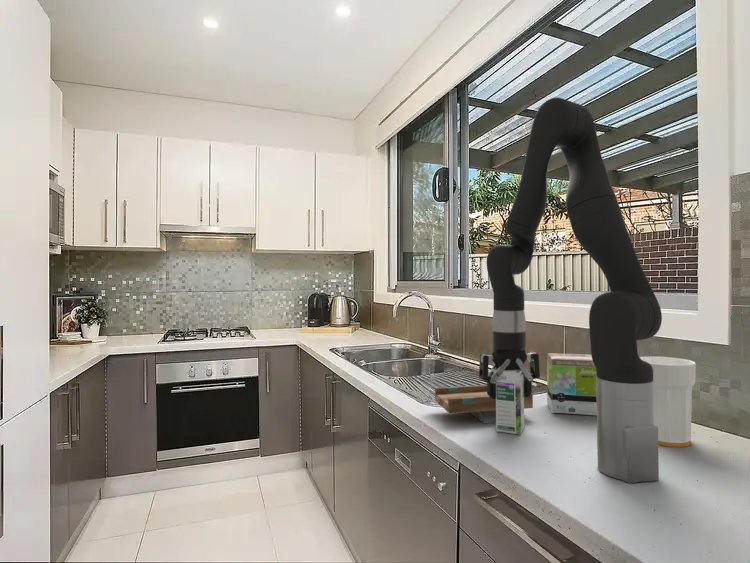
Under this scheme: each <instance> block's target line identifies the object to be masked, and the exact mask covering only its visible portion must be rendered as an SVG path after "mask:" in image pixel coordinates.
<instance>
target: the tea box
mask: <svg viewBox="0 0 750 563" xmlns="http://www.w3.org/2000/svg"><path fill="white" fill-rule="evenodd" d="M546 359H547V360H546V364H547V365H546V370H547V373H546V379H547V380H546V383H547V384H546V390H547V391H546V394H547V395H546V404H547V406H548V407H549V409H550V411H551V413H552V414H571V415H582V416H584V415H585V416H596V417H597V396H596V392H597V390H596V367H595V365H594V363H593V360H592V356H591V354H584V353H583V354H582V353H555V352H554V353H551V352H549V353H547V357H546Z"/></svg>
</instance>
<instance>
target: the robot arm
mask: <svg viewBox="0 0 750 563" xmlns="http://www.w3.org/2000/svg"><path fill="white" fill-rule="evenodd" d="M527 142H528V143H527V147H526V148H527V149H526V151H525V152H526V153H525V157H524V161H523V167H522V173H521V177H520V181H519V184H518V189H517V193H516V194H515V198H514V201H513V203H512V206H511V208H510V212H509V214H508V217H507V219H506V223H505V226H504V227H505V228H504V229H505V231H506V233H507V234H508V235H510V237H511V238H510V244H496V245H494V246H493V247H491V249H490V250H489V251H488V253H487V256H486V270H487V271H486V272H487V274H488V278H489V281H490V286H491V290H492V293H493V315H492V325H491V327H492V354H484V353H481V354H480V355H479V366H478V367H479V369H478V370H479V371H478V378H479V379H481V381H484V382H486V385H487V394H488V395H489V397H490V398H491V399H496V383H495V381H496V380H497V378H498V377H499V376H500V375H501V374H502V373H503V371H504V370H517V369H520V370H521V371H522V373H523V375H524V396H525V397H530V394H533V390H532V389H533V386H532V384H533V380H535V379H539V378H540V377H541V375H540V374H541V373H540V372H541V370H540V358H539V354H538V353H536V352H534V351H530V352H528V353H527V352H526V348H527V344H526V343H527V339H526V338H527V337H526V336H527V335H526V334H527V331H526V330H527V328H526V326H527V323H526V322H527V321H526V314H525V290H524V288H523V287H522V286H520V285H518V284H516V283H515V278H514V275H520V274H523V273H524V272H526V271H527V269H528V268H529V267H530V264H531V262H532V259H533V256H534V255H533V254H534V250H535V249H534V248H535V243H536V234H537V230H538V228H539V226H540V225H541V224H540V223H541V222H542V218H543V216H544V214H545V211H546V206H547V201H548V170H549V169H548V168H549V164H550V160H551V157H552V154H553V152H554V150H555V149H556V148H559V149H560V150H561V153H562V154H563V156H564V159H565V161H566V162H565V163H566V165H567V167H568V172H569V173H568V174H569V180H568V185H567V191H566V195H565V209H566V212H567V218H568V220H569V224H570V226H571V229H572V233H573V235H574V237H575V239H576V240H577V241H578V243H579V244H580V245H581V247H582V248H583V249H584V251H585V252H586V253H587V254H588V255H589V256H590V258H591V259H592V260H593V261H594V263H595V264H597V266H598V268H600V270H601V271H602V273H603V275H604V278H606V282H607V284H608V287H609V290H610V291H606V292H603V293H601V294H600V293H599V295H598V296H596V297H595V298H594V300H593V302H592V303H591V306H590V308H589V309H590V310H589V314H588V326H589V329H588V330H589V341H590V342H589V343H590V355H591V356H592V360H593V363H594V365H595V367H596V390H597V392H596V396H597V416H596V447H597V448H596V449H597V450H596V451H597V452H596V453H597V469H598V470H599V471H600V472H601V473H602V474H604V475H606V476H608V477H612V478H614V479H617V480H621V481H624V482H625V483H627V484H628V483H629V484H632V483H641V482H651V481H659V480H660V473H659V472H660V471H659V469H660V468H659V467H660V466H659V464H660V463H659V462H660V461H659V460H660V459H659V456H660V455H659V445H658V427H657V426H656V425H654V405H653V368H652V366H651V364H649V363H648V362H645V361H643V360H641V359H640V357H641V356H639V354H638V353H639V352H638V344H637V341H640V340H641V341H642V340H647V339H651V338H653V337H654V336H656V334H657V333H658V332H659V331H660V329H661V326H662V322H663V321H662V320H663V316H662V314H663V313H662V310H661V305H660V304H659V301H658V299H657V297H656V294H655V292H654V290H653V289H652V285H651V284H650V282H649V280H648V278H647V276H646V274H645V272H644V269H643V268H642V265H641V263H640V261H639V259H638V255H637V252H636V250H635V247H634V245H633V242H632V240H631V239H632V238H631V237H630V233H629V232H628V228H627V226H626V222H625V219H624V216H623V212H622V210H621V206H620V204H619V202H618V201H619V200H618V198H617V195H616V193H615V191H614V188H613V186H612V183H611V180H610V177H609V174H608V170H607V168H606V165H605V163H604V160H603V156H602V152H601V149H600V145H599V139H598V135H597V128H596V125H595V122H594V118H593V115H592V113H591V112H590V111H589V109H588V108H587V107H586V106H584V105H582V104H579V103H576V102H574V101H571V100H568V99H565V98H562V97H552V98H549V99H547V100H546V101H544V102H543V103H542V104H541V105H540V106H539V108H538V110H537V111H536V112H535V115H534V119H533V121H532V125H531V128H530V133H529V138H528V141H527ZM526 361H528V362H529V369H527V367H526V366H525V365H524V364H525V363H526ZM491 362H493V363H494V364H493V366H492V367H491V369H489V365H490V364H491ZM489 370H490V371H489Z"/></svg>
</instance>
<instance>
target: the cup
mask: <svg viewBox="0 0 750 563" xmlns="http://www.w3.org/2000/svg"><path fill="white" fill-rule="evenodd" d="M639 357H640V359H641V360H643V361H645V362H648V363H649V364H651V366H652V368H653V405H654V425H656V426H657V427H658V446H664V447H669V448H685V447H688V446H690V445H691V442H692V409H693V408H692V404H693V386H694V385H695V384H696V376H697V375H696V373H697V371H696V370H697V369H696V368H697V362H695V361H694V360H690V359H685V358H678V357H670V356H669V357H668V356H656V355H655V356H652V355H651V356H639Z"/></svg>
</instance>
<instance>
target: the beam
mask: <svg viewBox="0 0 750 563" xmlns="http://www.w3.org/2000/svg"><path fill="white" fill-rule="evenodd" d="M533 395H534V394H533V393H531V394H530V397H525V396H524V410H526V409H533V408H534V406H533V405H534V402H533V401H534V400H533V398H534V397H533ZM434 400H435V402H436V403H437V404H438V405H439V406H440V407H441V408H442V409H444V410H445V411H446V412H447V413H448V414H461V413H471V415H474V416H475V417H476V418H477V419H478V420H480V422H482V423H484V424H493V423H494V424H496V399H491V398H490V397H489V395H488V394H487V384H480V385H466V386H465V385H463V386H461V385H460V386H447V387H445V386H444V387H434Z"/></svg>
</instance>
